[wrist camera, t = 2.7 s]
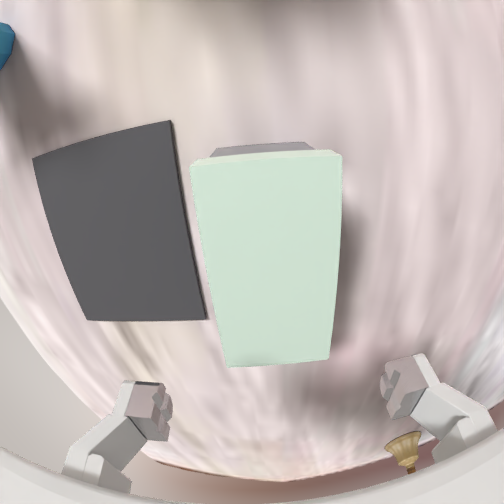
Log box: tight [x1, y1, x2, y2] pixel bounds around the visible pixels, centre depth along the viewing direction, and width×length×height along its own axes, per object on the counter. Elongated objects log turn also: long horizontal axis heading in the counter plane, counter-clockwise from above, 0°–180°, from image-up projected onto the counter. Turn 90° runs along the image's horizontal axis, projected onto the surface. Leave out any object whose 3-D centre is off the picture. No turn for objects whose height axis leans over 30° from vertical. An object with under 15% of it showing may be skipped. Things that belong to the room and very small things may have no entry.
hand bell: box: [385, 431, 421, 475], centre depth 37 cm, size 8×8×16 cm
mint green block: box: [189, 149, 342, 368], centre depth 16 cm, size 7×13×3 cm, turn 5°
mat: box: [32, 120, 206, 321], centre depth 22 cm, size 13×17×1 cm
